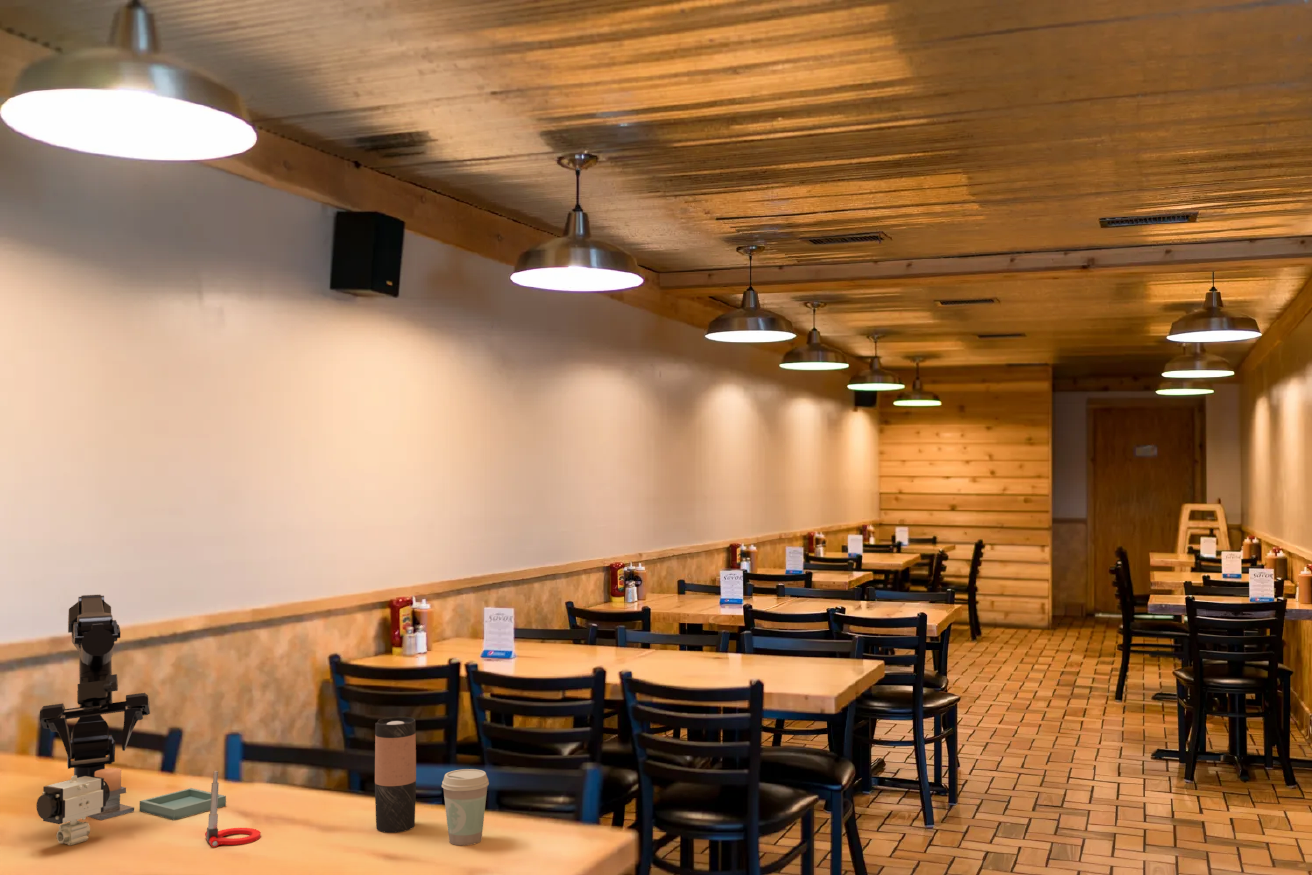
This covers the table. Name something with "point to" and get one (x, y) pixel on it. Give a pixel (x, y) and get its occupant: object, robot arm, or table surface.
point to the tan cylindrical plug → (112, 780)
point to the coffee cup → (465, 805)
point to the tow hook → (215, 835)
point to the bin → (180, 804)
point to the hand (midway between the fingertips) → (96, 754)
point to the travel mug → (395, 774)
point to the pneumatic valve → (73, 806)
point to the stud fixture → (113, 809)
